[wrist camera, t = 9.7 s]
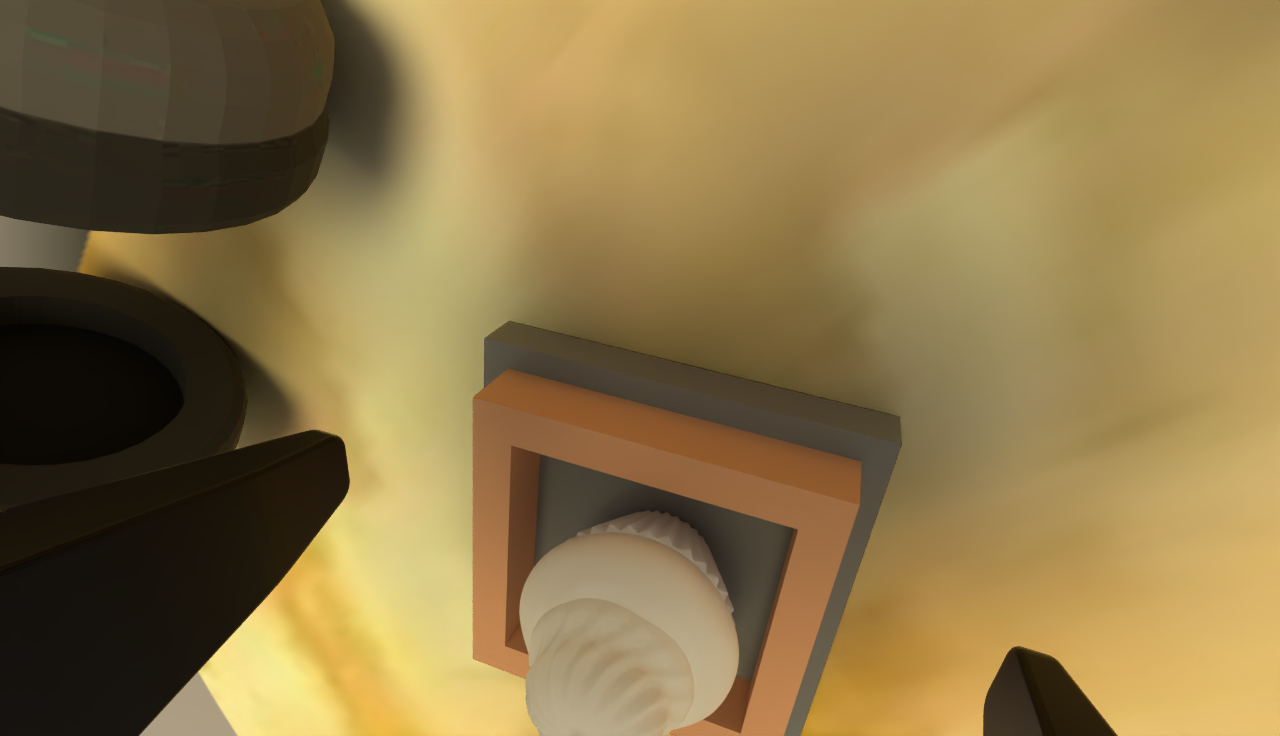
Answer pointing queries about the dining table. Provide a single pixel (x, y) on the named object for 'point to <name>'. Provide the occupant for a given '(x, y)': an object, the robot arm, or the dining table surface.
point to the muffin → (627, 630)
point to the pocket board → (677, 498)
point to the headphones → (139, 216)
